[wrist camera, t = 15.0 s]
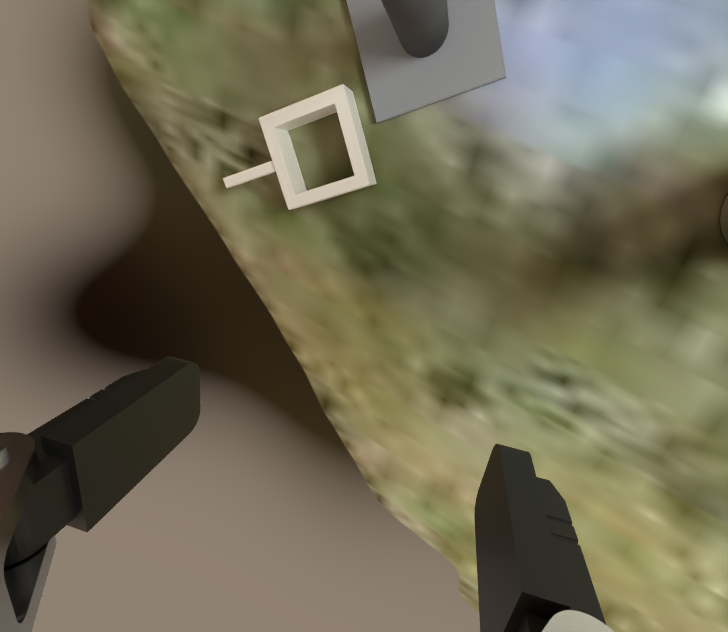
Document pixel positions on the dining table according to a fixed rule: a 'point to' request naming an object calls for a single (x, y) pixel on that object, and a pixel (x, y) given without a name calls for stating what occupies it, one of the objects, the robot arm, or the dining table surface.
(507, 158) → the dining table surface
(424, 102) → the grey felt mat
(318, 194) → the square ring with handle
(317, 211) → the dining table surface
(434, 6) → the black cable stub
